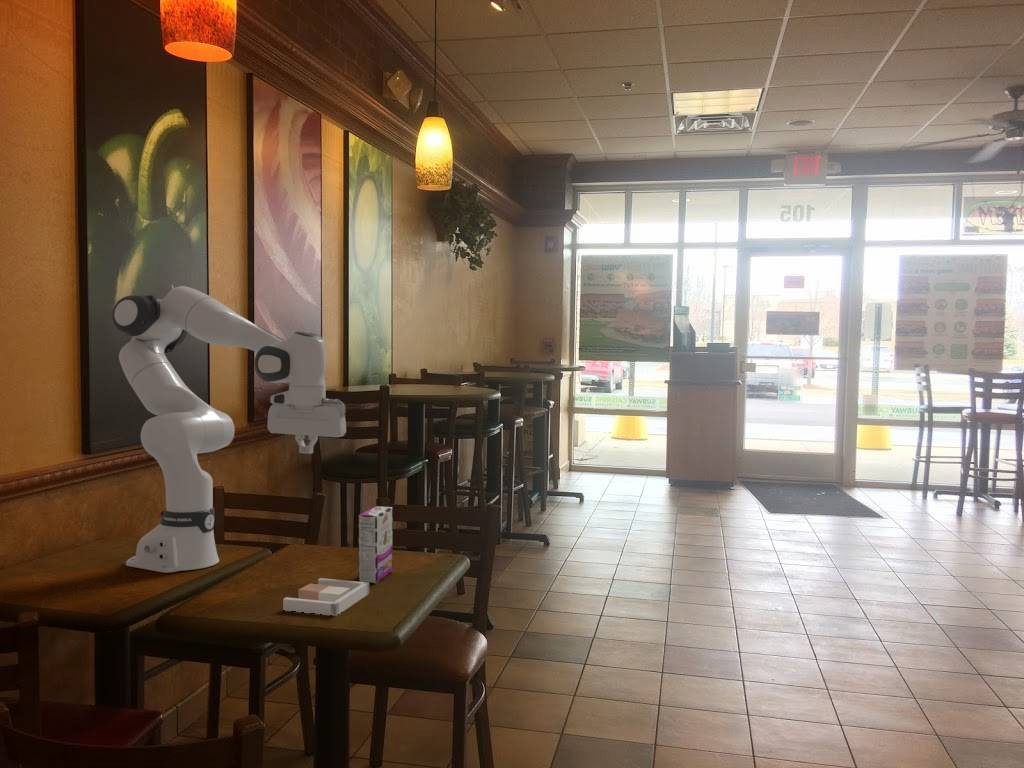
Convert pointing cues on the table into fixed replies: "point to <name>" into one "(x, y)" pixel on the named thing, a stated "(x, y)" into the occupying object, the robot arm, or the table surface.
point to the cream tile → (332, 593)
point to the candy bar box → (375, 544)
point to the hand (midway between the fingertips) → (306, 453)
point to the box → (325, 607)
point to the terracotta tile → (310, 591)
